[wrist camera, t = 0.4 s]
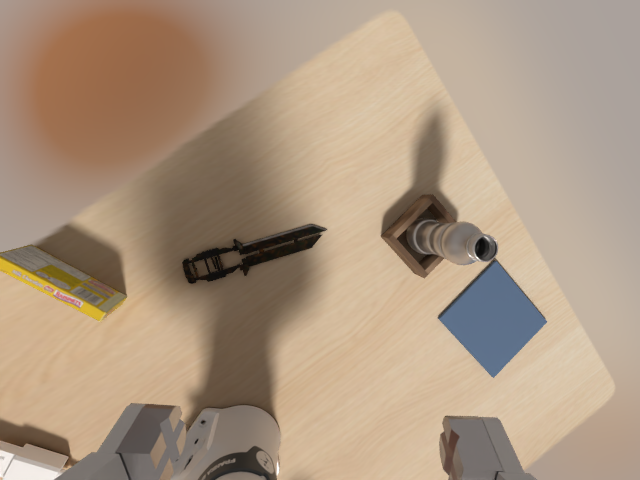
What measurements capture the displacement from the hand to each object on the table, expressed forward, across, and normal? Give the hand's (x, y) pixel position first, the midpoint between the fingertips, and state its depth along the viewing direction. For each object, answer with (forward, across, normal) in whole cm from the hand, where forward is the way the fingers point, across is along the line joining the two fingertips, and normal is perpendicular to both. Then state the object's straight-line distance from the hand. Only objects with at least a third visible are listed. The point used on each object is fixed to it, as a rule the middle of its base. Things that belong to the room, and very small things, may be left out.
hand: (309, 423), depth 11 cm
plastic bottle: (+54, +15, -18) cm, 59 cm away
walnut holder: (+54, +15, -18) cm, 59 cm away
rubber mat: (+52, +31, -35) cm, 71 cm away
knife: (+47, -14, -18) cm, 52 cm away
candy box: (+40, -42, -19) cm, 60 cm away
